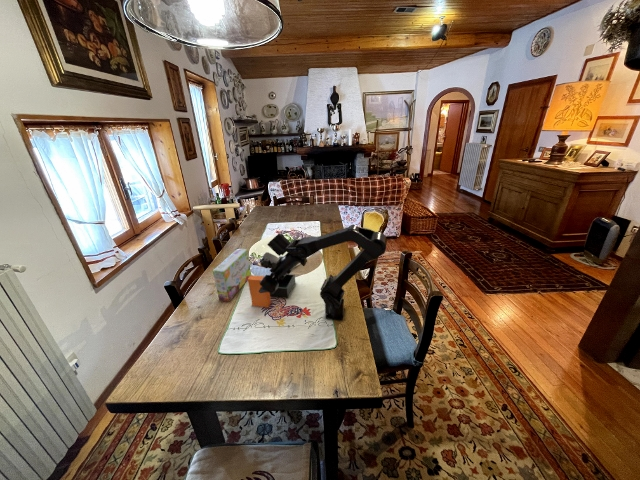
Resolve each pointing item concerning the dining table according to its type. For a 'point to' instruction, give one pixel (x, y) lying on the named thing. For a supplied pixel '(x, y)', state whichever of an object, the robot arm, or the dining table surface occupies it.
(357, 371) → the dining table surface
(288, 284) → the black square tray
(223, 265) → the snack box
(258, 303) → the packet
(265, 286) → the robot arm
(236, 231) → the dining table surface
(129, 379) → the dining table surface
